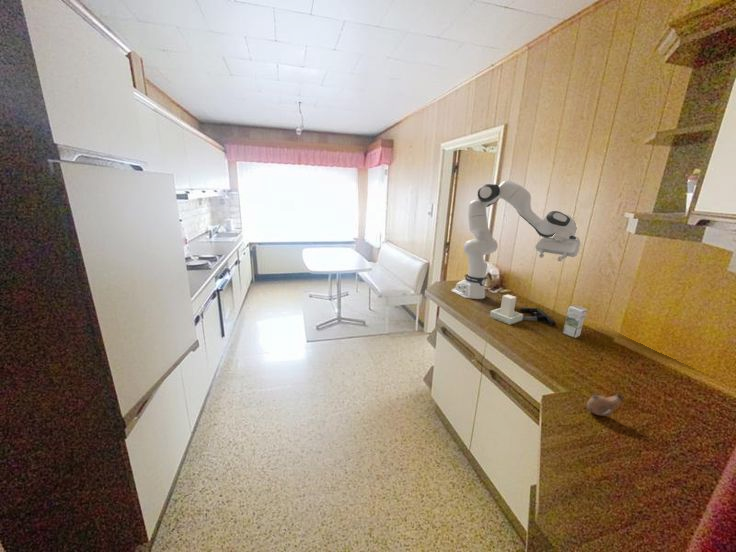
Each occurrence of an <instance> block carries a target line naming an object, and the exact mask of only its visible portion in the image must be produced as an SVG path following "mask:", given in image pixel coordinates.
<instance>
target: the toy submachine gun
mask: <svg viewBox="0 0 736 552" xmlns="http://www.w3.org/2000/svg"><path fill="white" fill-rule="evenodd" d="M519 312H521V313H522V314H525V313H528V314H529V315H528V316H527V315H525V316H524V315H523V318H522V320H521V321H536V322H543V323H548V325H550V326H552V327H555V326H556V324H557V322H556V321H555V320H554V319H553V318H552V317H550V316H549V315H548V314H547V313H546V312H545V311H543V310H542V309H541V308H540V307H535V308H532V307H531V308H528V307H521V308H520V309H519Z"/></svg>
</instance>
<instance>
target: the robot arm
mask: <svg viewBox="0 0 736 552" xmlns="http://www.w3.org/2000/svg"><path fill="white" fill-rule="evenodd" d="M500 199H502V200H504V201H505V202H507V203H508V204H510V205H511V206H512V207H513V208H514V209H515V211H516V212H517V214H519V216H520V217H521V218H522V219H524V220H525V221H526V222H527V223H528V225H530V226H531V227H532V228H534V230H535V232H536V233H537V234H538V235H539V236H540V237H541V238H540V240H539V241H538V242H537V243H536V244H535V249H536V251H537V252H539V253H540V254H539V255H538V257H539V258H541V259H542V258H544V256H545V255H544V254H545V253H547V254H553V255H559V256H558V257H557V261H559V262H562V261H563V260H564V259H566V258H567V257H572V258H575V257H576V256H578V254H579V252H580V247H581V241H580V240H581V239H580V238H579V236H578V237H577V236H576V234H575V233H576V230H577V227H576V223H575V221H574V220H573V219H572V217H571V216H570V215H568V214H569V213H564V212H561V211H560V210H559V211H558V210H552V211H549V212H548V213H547V214H546V216H545V217H544V218H543V219H542V218H541V217H540V216H539V215H537V214H536V213H535V212H534V211H533V210H532V206H531V201H532V196H531V193H530V192H529V191H528V190H527V189H526V188H524V187H523V186H521V185H520V184H519V183H516V182H514V181H513V180H509V179H506V180H504V181H502V182H501V183H499V185H498V184H491V183H487V184H483V185H482V186H480V187H479V189H477V198H476V199H472V200H471V201H470V202H469V203H468V207H467V217H468V227H469V231H470V233H472V234H473V235H474V238H472V239H469V240H467V241H465V243H464V244H463V249H462V250H463V252H464V253H465V254H466V256H467V259H468V271H467V272H468V273H466V274H464V277H465V278H464V279H461V280H460V281H458V282H457V283H456V284H455V287H454V288H452V289H451V292H453V293H454V294H457V295H459V296H461V297H463V298H465V299H474V300H479V299H480V300H483V299H485V298H486V294H485V292H486V291H485V285H486V281H487V269H488V264H487V263H486V262H485V260H484V259H485V258H484V256H485V255H486V256H487V255H491V254H493V253H494V252H496V251H497V250H498V248H499V247H498V245H499V244H498V241H497V240H496V239H495V238H494V237H493V236H492V234H491V232H490V228H489V225H488V218H487V217H488V215H487V208H488V207H490V206H493V205H494V204H496V203H497V202H499V200H500ZM554 234H555V235H554ZM553 235H554V236H553Z"/></svg>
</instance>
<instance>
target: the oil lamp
mask: <svg viewBox="0 0 736 552" xmlns="http://www.w3.org/2000/svg"><path fill="white" fill-rule="evenodd" d="M623 401H624V400H623V397H622V395H620V394H619V393H616V394H614V395H612V396H608V397H606V396H604V395H598V394H593V395H592V396H591V397H590V398H589V399H588V400H587V402H586V407H587V409H588V411H589V412H590V413H592V414H594V415H596V416H600V417H601V416H604V417H605V416H606V417H607V416H611V414H612V412H613V411H614V408H615V407H617V406H618V405H619V404H621V403H622V402H623Z"/></svg>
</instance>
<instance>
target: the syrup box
mask: <svg viewBox="0 0 736 552" xmlns="http://www.w3.org/2000/svg"><path fill="white" fill-rule="evenodd" d="M586 314H587V308H584V307H581V306H578V305H575V304H573V305H570V306H569V307H568V309H567V313H566V318H565V320H564V321H565V322H564V326H563V329H562V334H564V335H566V336H569V337H571V338H574V339H576V338H578V337H580V336H581V333H582V329H583V325H584V321H585V317H586Z"/></svg>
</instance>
